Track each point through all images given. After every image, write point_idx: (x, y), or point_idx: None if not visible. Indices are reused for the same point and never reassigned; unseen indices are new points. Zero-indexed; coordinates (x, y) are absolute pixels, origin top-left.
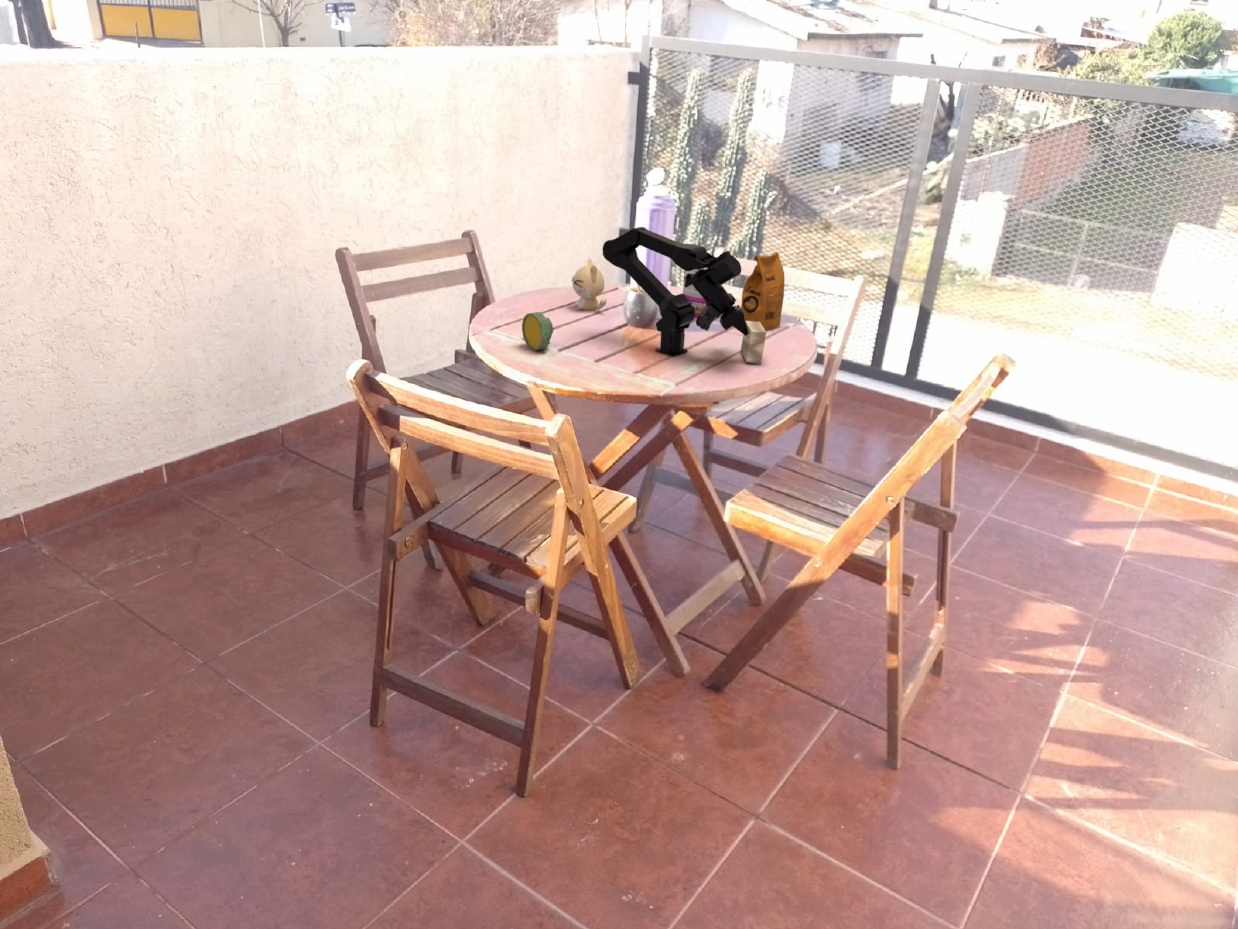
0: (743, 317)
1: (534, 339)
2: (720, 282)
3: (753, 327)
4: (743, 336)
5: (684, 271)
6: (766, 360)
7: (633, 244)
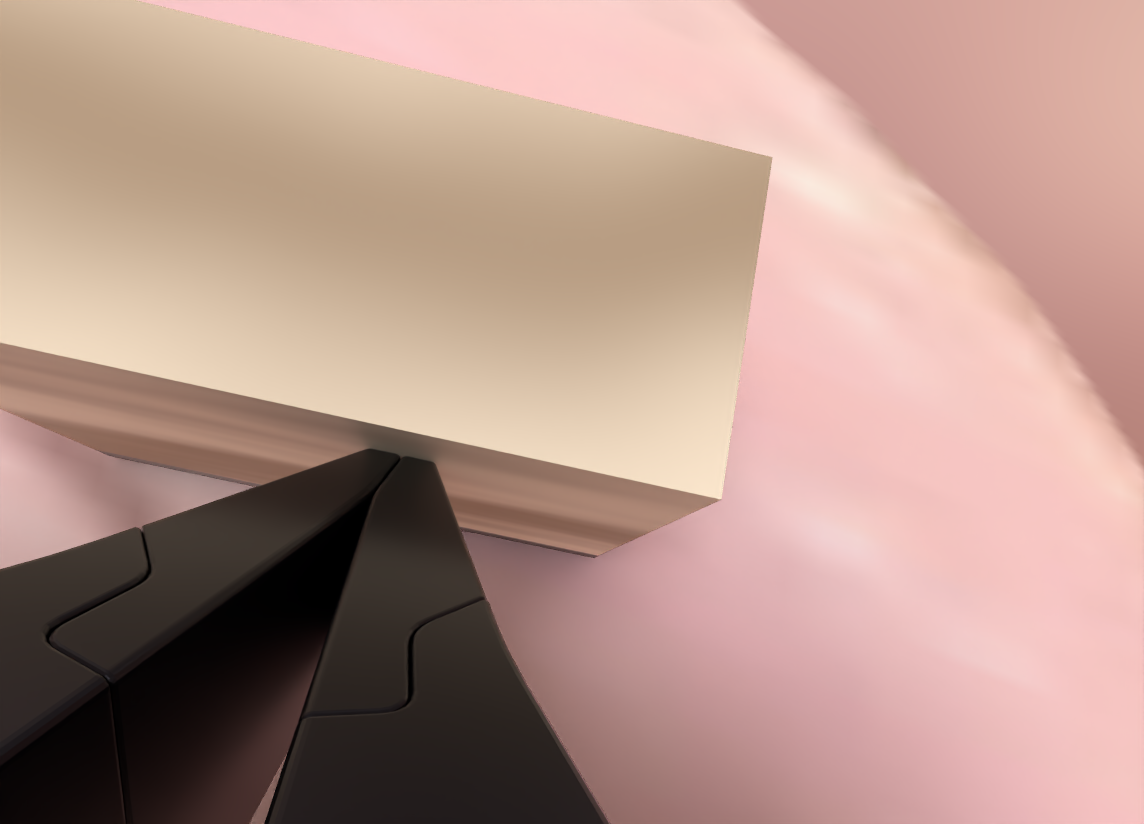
0: (578, 785)
1: None
2: None
3: (378, 308)
4: (15, 404)
5: None
6: None
7: None
